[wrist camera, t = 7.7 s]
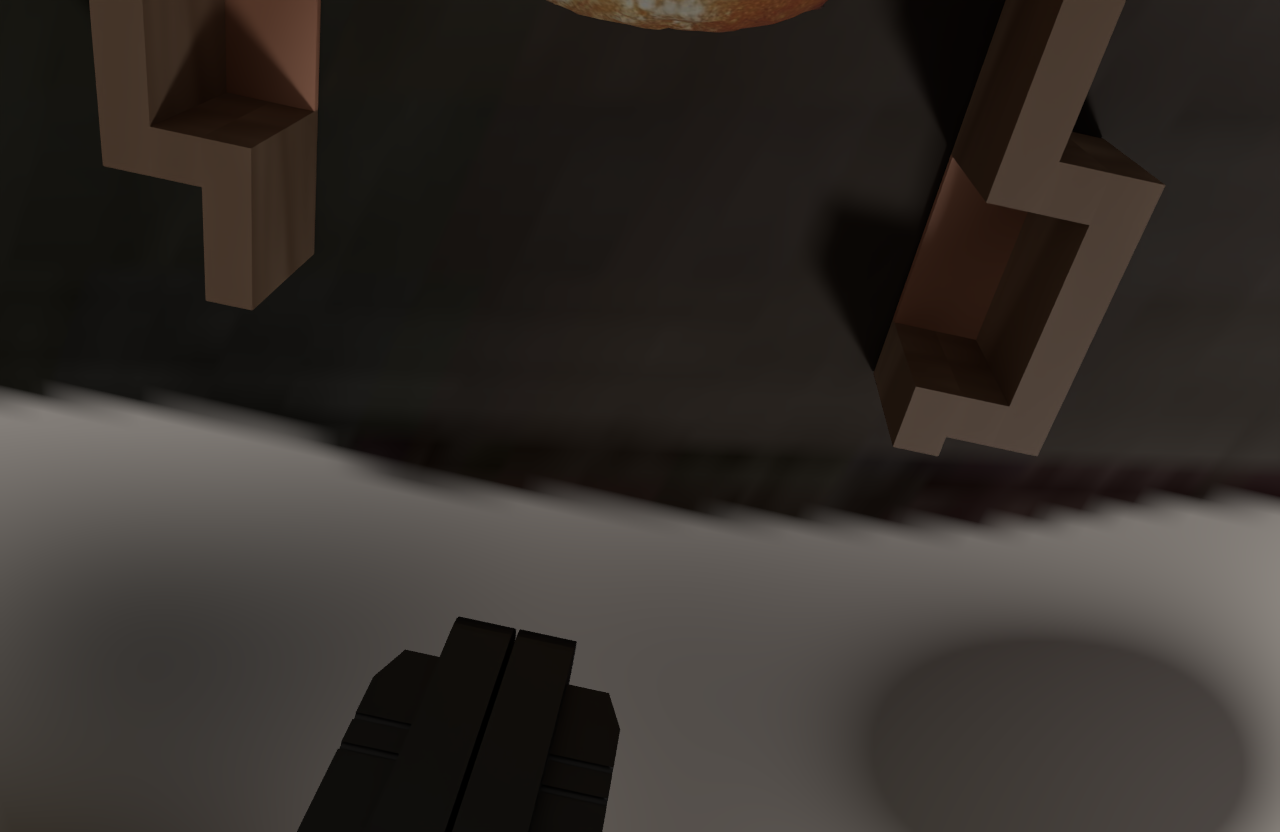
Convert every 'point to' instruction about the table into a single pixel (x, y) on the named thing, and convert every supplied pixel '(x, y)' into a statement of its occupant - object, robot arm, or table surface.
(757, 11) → the bread roll
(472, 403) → the table surface
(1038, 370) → the box
